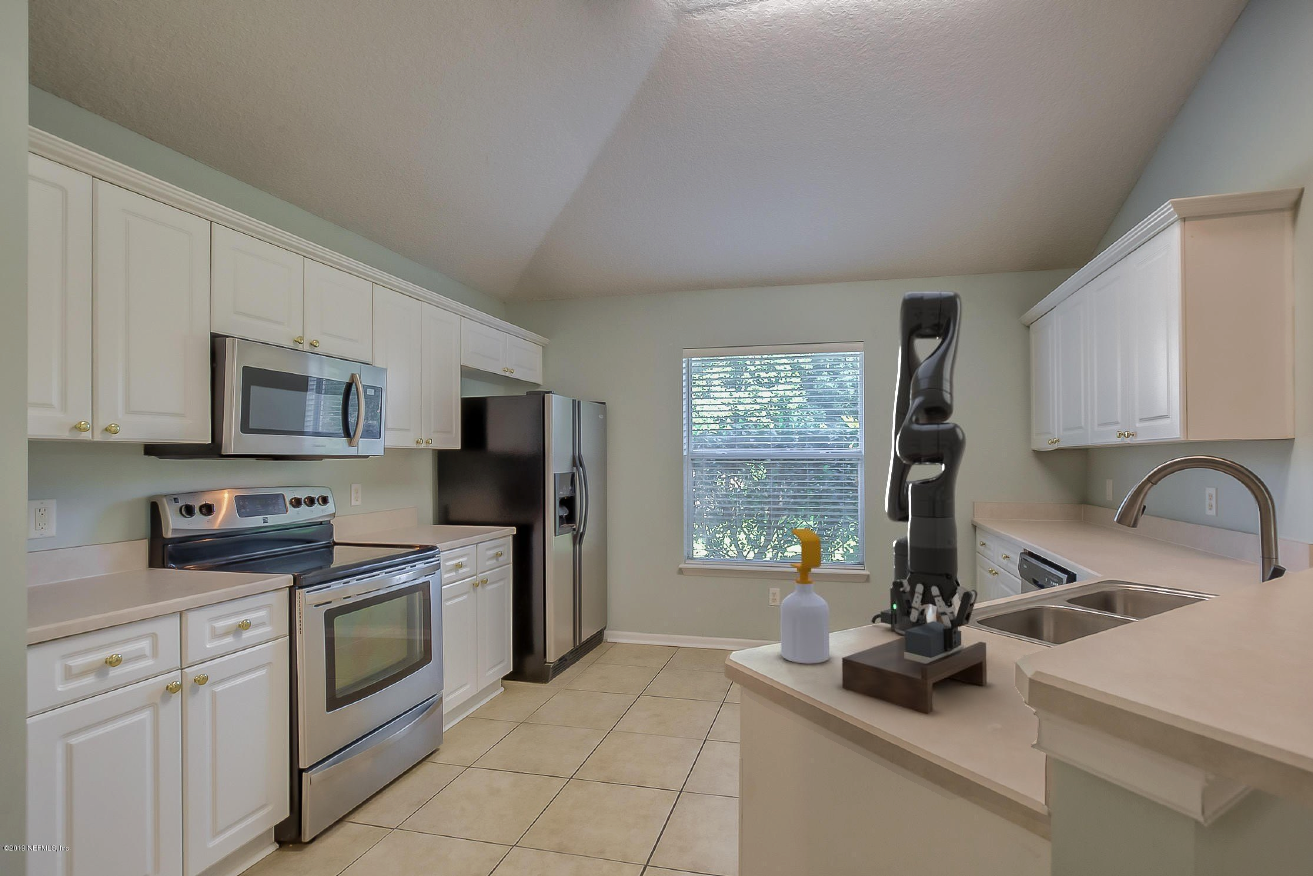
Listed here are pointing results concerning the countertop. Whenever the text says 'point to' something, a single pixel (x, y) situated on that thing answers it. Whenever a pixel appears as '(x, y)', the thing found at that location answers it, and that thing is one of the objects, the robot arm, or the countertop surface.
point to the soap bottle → (805, 609)
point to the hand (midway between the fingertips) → (934, 646)
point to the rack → (910, 673)
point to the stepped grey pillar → (927, 642)
